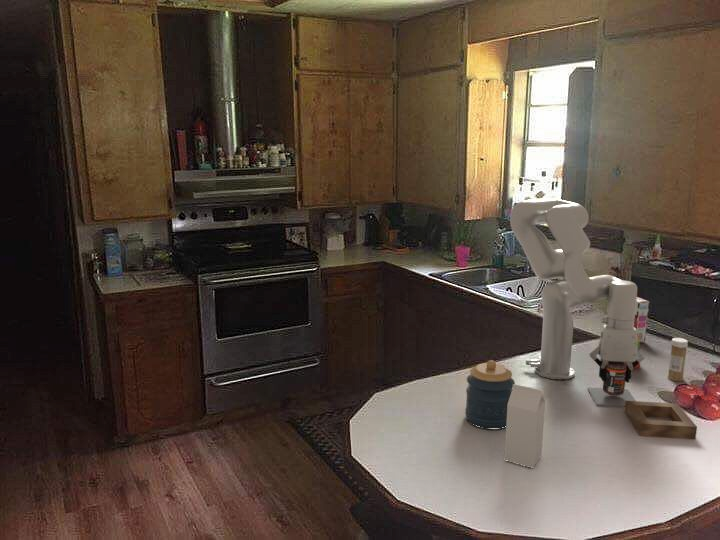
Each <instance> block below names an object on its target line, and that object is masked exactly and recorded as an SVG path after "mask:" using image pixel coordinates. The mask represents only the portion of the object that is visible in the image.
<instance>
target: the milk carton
mask: <svg viewBox="0 0 720 540" xmlns="http://www.w3.org/2000/svg"><path fill="white" fill-rule="evenodd" d="M545 407H546V399H545V397H544V396H543V389H538V388H534V387H533V388H532V387H528V386H524V385H520V384H516V383H515V384H513V387H512V392H511V395H510V398H509V401H508V404H507V423H506V428H505V442H504V443H505V444H504V459H505V460H508V461H511V462H515V463H518V464H522V465H525V466H529V467H532V468H533V467H534V468H535V467H536V465H537V462H538V461H539V460H540V458H541V457H542V454H543V453H542V452H543V451H542V449H543V438H544V437H543V436H544V423H545V422H544V421H545V410H546V409H545ZM540 456H541V457H540ZM504 459H503V460H504ZM505 460H504V461H505ZM511 462H510V463H511ZM518 464H517V465H518ZM535 464H536V465H535ZM525 466H524V467H525ZM532 468H531V469H532ZM534 468H533V469H534Z"/></svg>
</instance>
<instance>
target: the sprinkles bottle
mask: <svg viewBox="0 0 720 540" xmlns="http://www.w3.org/2000/svg"><path fill="white" fill-rule="evenodd" d="M688 343H689V341H688V340H687V339H686V338H682V337H673V338H672V339H671V349H670V357H669V365H668V375H667V379H669V380H671V381H674V382H682V381H683V380H684V372H685V367H686V366H685V365H686V355H687V347H688V345H689V344H688Z"/></svg>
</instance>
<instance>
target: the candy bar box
mask: <svg viewBox="0 0 720 540" xmlns="http://www.w3.org/2000/svg"><path fill="white" fill-rule="evenodd" d="M649 310H650V301H649V300H646V299H645V298H644V299H643V298H642V297H639V296H637V298H636V308H635V314H636V315H637V316H638V318H637V321H638V325H637V328H636V330H637V333H638V336H639V342H640V344H644V343H646V336H647V326H648V319H649Z"/></svg>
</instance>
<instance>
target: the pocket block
mask: <svg viewBox="0 0 720 540" xmlns="http://www.w3.org/2000/svg"><path fill="white" fill-rule="evenodd" d="M624 413H625V415H626V417H627V418H628V420H629V421H630V423H631V424H632V427H633V428H634V430H635V431H636V433H637V434H638V436H640V437H642V436H643V437H653V438H654V437H656V438H657V437H658V438H670V439H671V438H672V439H673V438H674V439H685V440H687V439H688V440H689V439H690V440H696V438H697V437H696V436H697V430H698V427H697V425H696V424H695V422H694V421H693V420H692V419H691V418H690V417H689V416H688V414H687V413H686V412H685V411H684V409H683V408H682V407H681V406H680V404H679V403H675V402H674V403H673V402H672V403H671V402H656V401H637V400H636V401H626V402H625V407H624ZM648 418H656V419H648ZM657 418H659V419H670V420H657Z"/></svg>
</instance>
